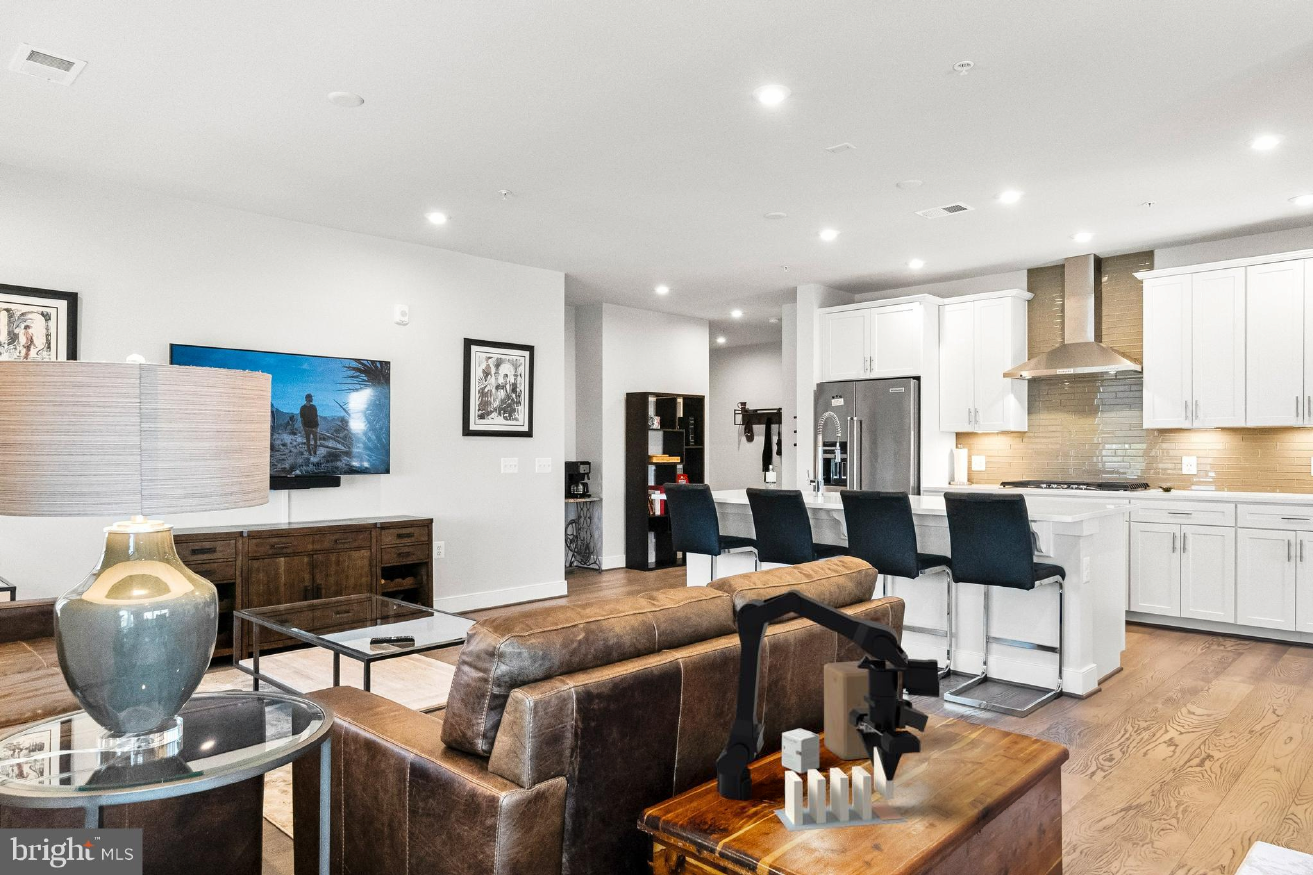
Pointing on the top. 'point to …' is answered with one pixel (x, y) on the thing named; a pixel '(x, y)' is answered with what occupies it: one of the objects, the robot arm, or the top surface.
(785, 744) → the skincare box
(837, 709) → the wooden block
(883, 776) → the end domino
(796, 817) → the domino
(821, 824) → the domino board
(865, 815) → the domino
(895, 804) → the top surface
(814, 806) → the domino
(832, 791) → the domino
